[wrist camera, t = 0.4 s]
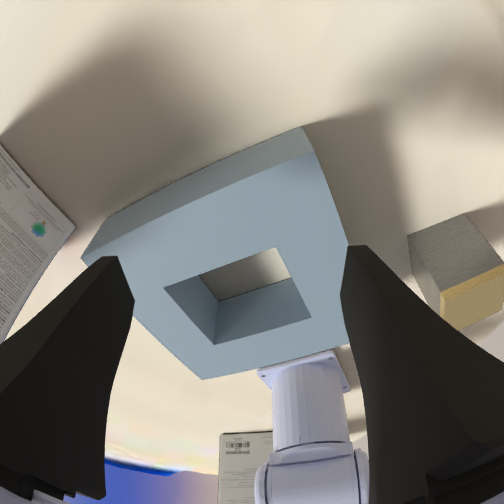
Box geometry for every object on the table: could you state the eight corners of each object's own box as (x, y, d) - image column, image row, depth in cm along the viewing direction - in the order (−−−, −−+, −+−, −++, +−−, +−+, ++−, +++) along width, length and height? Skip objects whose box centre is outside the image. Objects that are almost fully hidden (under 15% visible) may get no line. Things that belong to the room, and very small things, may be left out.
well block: (361, 293, 24) (374, 334, 20) (206, 340, 28) (202, 380, 24) (301, 126, 16) (314, 150, 13) (105, 219, 20) (80, 257, 17)
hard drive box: (231, 446, 47) (227, 548, 32) (219, 432, 43) (213, 549, 27) (321, 439, 45) (329, 544, 30) (320, 424, 41) (330, 547, 25)
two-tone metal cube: (463, 252, 21) (501, 309, 16) (412, 273, 23) (442, 337, 18) (463, 213, 19) (509, 270, 14) (407, 235, 21) (444, 300, 15)
